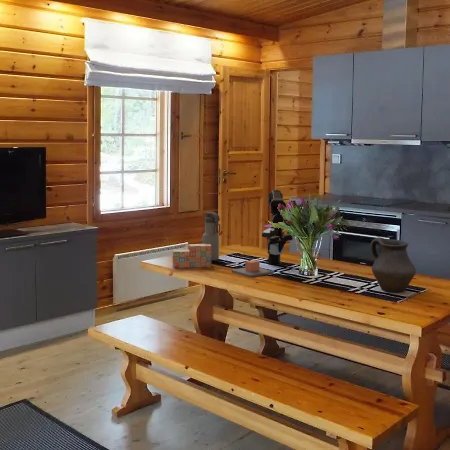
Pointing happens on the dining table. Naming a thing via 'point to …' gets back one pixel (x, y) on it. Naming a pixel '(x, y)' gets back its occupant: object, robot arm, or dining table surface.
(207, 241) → the water bottle
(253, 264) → the terracotta brick
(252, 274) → the base plate
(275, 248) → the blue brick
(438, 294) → the dining table surface
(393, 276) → the pitcher
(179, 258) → the stack of blocks
